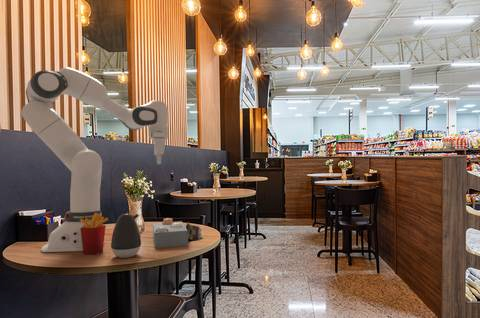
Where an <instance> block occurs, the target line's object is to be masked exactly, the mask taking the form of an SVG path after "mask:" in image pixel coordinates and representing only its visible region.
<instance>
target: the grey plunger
mask: <svg viewBox="0 0 480 318" xmlns="http://www.w3.org/2000/svg"><path fill="white" fill-rule="evenodd" d="M157 232H167V227H157Z"/></svg>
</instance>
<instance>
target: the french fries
mask: <svg viewBox="0 0 480 318" xmlns="http://www.w3.org/2000/svg"><path fill="white" fill-rule="evenodd" d="M96 220H97V222H96ZM108 220H109V218H108V217H104V216H103V215H102V214H101V215H99V214H97V213H95V214H94V215H93V217H92V220H90V219H89V220H88V219H87V218H85V221H84V220H83V219H80V221H81V222H82V223H83V224H84V227H82V228H80V230H81V238H82V246H83V251H82V253H83V255H88V256H89V255H91V256H92V255H93V256H95V255H99V254H100V253H102V252H104V245H105V234H106V227H107V226H106V225H107V224H104V223H105V222H107V221H108ZM87 221H89V222H90V223H91V225H89V224H88V223H87ZM95 223H96V224H95Z"/></svg>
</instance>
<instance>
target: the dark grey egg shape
mask: <svg viewBox="0 0 480 318" xmlns="http://www.w3.org/2000/svg"><path fill="white" fill-rule="evenodd" d="M138 217H139V214H138V213H136V214H134V215H132V214H129V213H123V214H121V215H119V217H118V218H117V220H116V222H115V224H114V227H113V231H112V234H111V235H112V236H111V242H110V244H111V245H110V247H111V250H112V253H113V255H114V256H116V257H117V258H121V259H128V258H132V257H135V256H136V255H137V254H138V253H139V251H140V249H141V246H142V239H141V233H140V229H139V226H138V223H137V221H136V219H137V218H138Z"/></svg>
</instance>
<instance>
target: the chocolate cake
mask: <svg viewBox="0 0 480 318" xmlns="http://www.w3.org/2000/svg"><path fill="white" fill-rule="evenodd" d="M185 227H186V229H187V230H188V242H189V240H192V241H200V239H202V228H201V227H200V226H197V225H192V224H190V223H189V222H187V223H186V225H185Z"/></svg>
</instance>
